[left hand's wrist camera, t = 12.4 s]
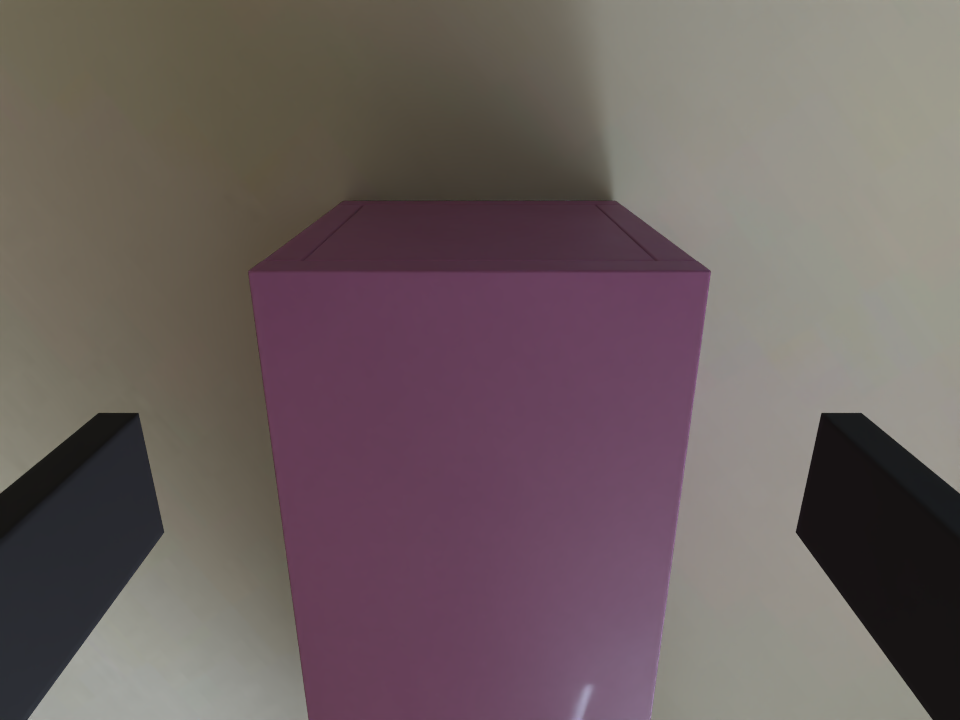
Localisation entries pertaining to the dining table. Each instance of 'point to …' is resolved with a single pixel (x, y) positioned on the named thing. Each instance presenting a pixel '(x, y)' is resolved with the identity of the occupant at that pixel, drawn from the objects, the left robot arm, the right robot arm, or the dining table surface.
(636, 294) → the purple rectangular block
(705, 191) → the dining table surface
